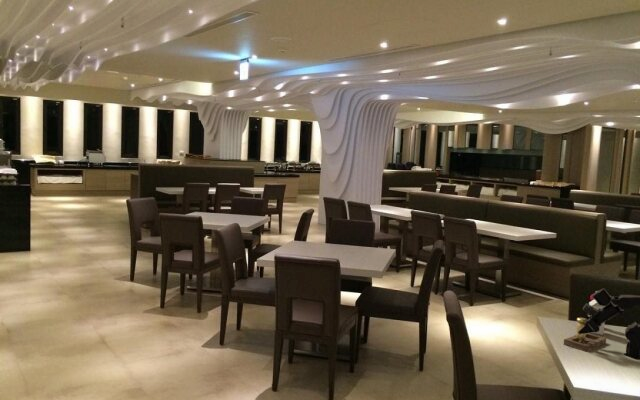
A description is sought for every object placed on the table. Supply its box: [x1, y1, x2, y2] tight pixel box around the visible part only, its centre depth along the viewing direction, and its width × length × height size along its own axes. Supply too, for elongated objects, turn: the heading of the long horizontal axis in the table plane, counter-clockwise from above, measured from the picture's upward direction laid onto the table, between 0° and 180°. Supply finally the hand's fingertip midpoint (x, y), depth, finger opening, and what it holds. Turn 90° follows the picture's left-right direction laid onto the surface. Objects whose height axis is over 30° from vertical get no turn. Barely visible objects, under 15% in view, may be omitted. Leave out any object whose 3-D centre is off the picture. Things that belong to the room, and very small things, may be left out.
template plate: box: [563, 333, 607, 352], centre depth 270 cm, size 22×11×2 cm, turn 129°
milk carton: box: [588, 299, 606, 335], centre depth 290 cm, size 7×7×19 cm
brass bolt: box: [575, 317, 588, 344], centre depth 267 cm, size 5×5×14 cm
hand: (578, 330), depth 267 cm, fingers open, 9 cm apart
